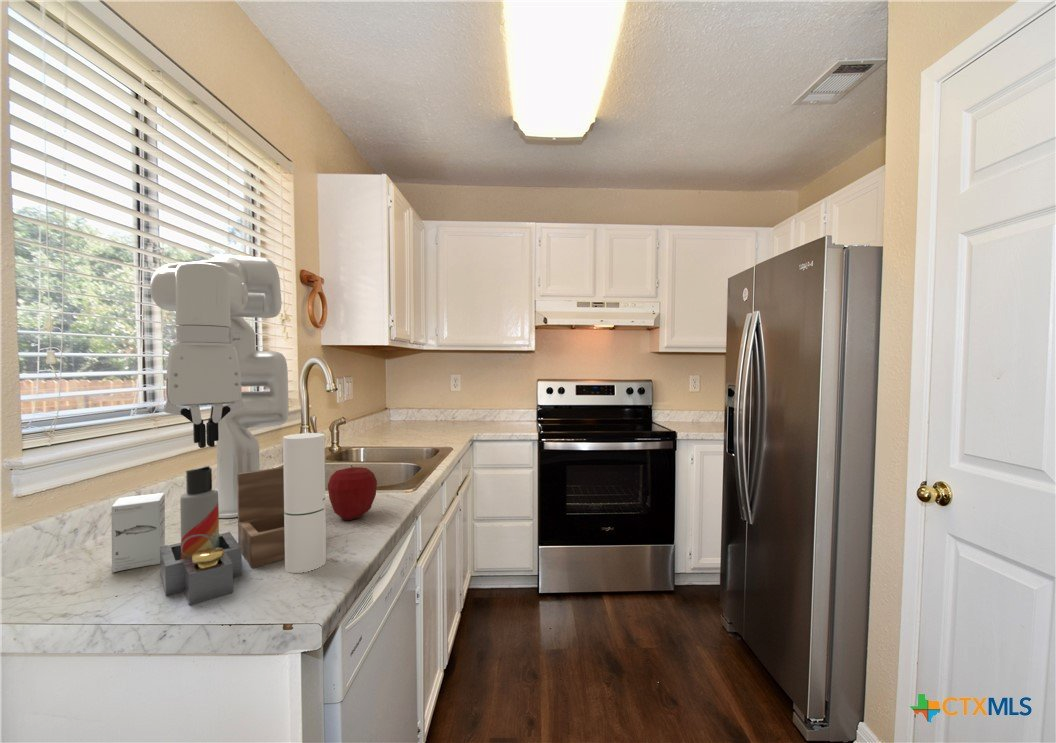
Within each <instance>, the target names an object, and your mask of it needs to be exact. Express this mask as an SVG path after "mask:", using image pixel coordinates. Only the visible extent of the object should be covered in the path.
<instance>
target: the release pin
mask: <svg viewBox="0 0 1056 743" xmlns="http://www.w3.org/2000/svg"><path fill="white" fill-rule="evenodd" d="M223 556H224V549H223V548H219V547H215V548H208V549H204V550H200V551H198V552H196V553H194V554H193V555H192V563H194V564H198V569H202V568H206V567H210V566H214V565H218V560H219V559H221V558H222V557H223Z"/></svg>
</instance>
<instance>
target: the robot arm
mask: <svg viewBox="0 0 1056 743" xmlns="http://www.w3.org/2000/svg"><path fill="white" fill-rule="evenodd" d="M149 289H150V295H151V296H150V297H151V299H152V300H153V302H154V303H155V305H156V306H157V307H159V308H160V309H161V310H164V311H168V312H175V324H176V325H175V333H176V334H175V337H176V338H175V339H176V341H175V342H176V343H175V344H176V345H170V347H169V351H168V357H167V364H166V380H165V381H166V383H165V384H166V385H165V386H166V387H165V390H166V391H165V392H166V393H165V394H166V402H165V405H164V407H163V411H164V412H165V413H166V414H172V415H175V416H176V415H178V416H183V417H184V418H185V419H187V420H188V421H189V422H191V423H192V426H193V431H192V432H193V443H194V444H197V445H198V447H199V448H200V449H204V448H206V447H207V446H208V447H210V448H214V447H215V442H216V468H217V469H216V474H217V475H216V476H217V484H216V485H217V486H216V487H217V491H218V507H219V519H234V518H238V492H237V473H244V472H251V471H258V470H261V469H260V465H261V464H260V443H259V440H258V439H257V437H256V436H255V435H254V434H253V433H252V432H251V431H250V430H249V428H259V427H261V428H262V427H263V428H264V427H275V426H281V425H283V424H285V423H286V422H287V420H288V418H289V411H290V410H289V408H290V407H289V373H288V372H289V370H288V363H287V359H286V357H285V355H283V353H281V352H279V351H273V350H272V351H271V350H258V349H257V348H256V332H255V330H254V329H253V327H252V326H251V325H250V324H249V322H248V321H247V320H246V319H245V318H256V319H257V318H259V319H261V318H262V319H273V318H275V317H278V316H279V314H280V312H281V310H282V304H283V302H282V293H281V280H280V274H279V271H278V268H277V266H276V264H275V263H274V262H273V261H272V260H271V259H269V258H265V257H260V256H247V255H246V256H245V255H236V254H219V255H216V256H214V257H212V258H211V259H209V260H198V261H197V260H196V261H189V262H188V261H187V262H176V263H168V264H164V265H162V266H160V267H158V268H157V269H156V270H155V271H154V273H153V275H152V277H151V280H150V287H149ZM243 387H248V388H249V387H251V388H252V387H266V388H268V389H269V390H266V391H265V390H264V391H252V390H251V391H242V388H243ZM200 406H211V408H210V412H209V413H210V414H209V415H210V416H209V418H207V422H206V424H205V423H204V420H203V419H202V415H201V410H200Z"/></svg>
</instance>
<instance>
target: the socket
mask: <svg viewBox="0 0 1056 743" xmlns="http://www.w3.org/2000/svg"><path fill="white" fill-rule="evenodd" d="M219 548H223V549H224V556H223V557H222V558H221V559H219V560H218V565H214V566H210V567H206V568H202V569H198V564H194V563H192V557H190V558H185V559H181V542H178V543H174V544H168V545H165V546H163V547H160V564H159V565H160V567H159V568H160V569H159V570H160V571H159V572H160V573H159V574H160V578H161V583H162V586H163V590H164V595H165V597H166V596H167V597H168V596H170V595H175V594H179V593H181V592H184V594H185V596H186V597H185V598H186V600H187V602H188V605H189V606H192V605H195V604H198V603H202V602H206V601H209V600H212V599H216V598H218V597H223V596H226V595H229V593H230V594H233V593H234V578H236V577H240V576H242V575H243V569H242V568H243V565H242V563H243V560H242V559H243V557H242V556H243V555H242V550H241V547H240V545H239V544H238V541H237V540H236V538H235V537H234V535H232V533H231V532H230V531H229V532H223V533H219ZM232 592H233V593H232ZM225 594H226V595H225ZM222 595H223V596H222Z"/></svg>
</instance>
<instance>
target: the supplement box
mask: <svg viewBox="0 0 1056 743" xmlns="http://www.w3.org/2000/svg"><path fill="white" fill-rule="evenodd" d="M165 513H166V492H158V493H150V494H141V495H140V494H139V495H133V496H131V495H130V496H123V497H119V498H118V499H116V501H115V502H114V503H113V504H112V506H111V573H112V574H113V573H115V572H116V573H117V572H121V571H127V570H130V569H137V568H142V567H148V566H153V565H154V566H155V565H160V547H163V546H166V545H165V544H166V514H165Z"/></svg>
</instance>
